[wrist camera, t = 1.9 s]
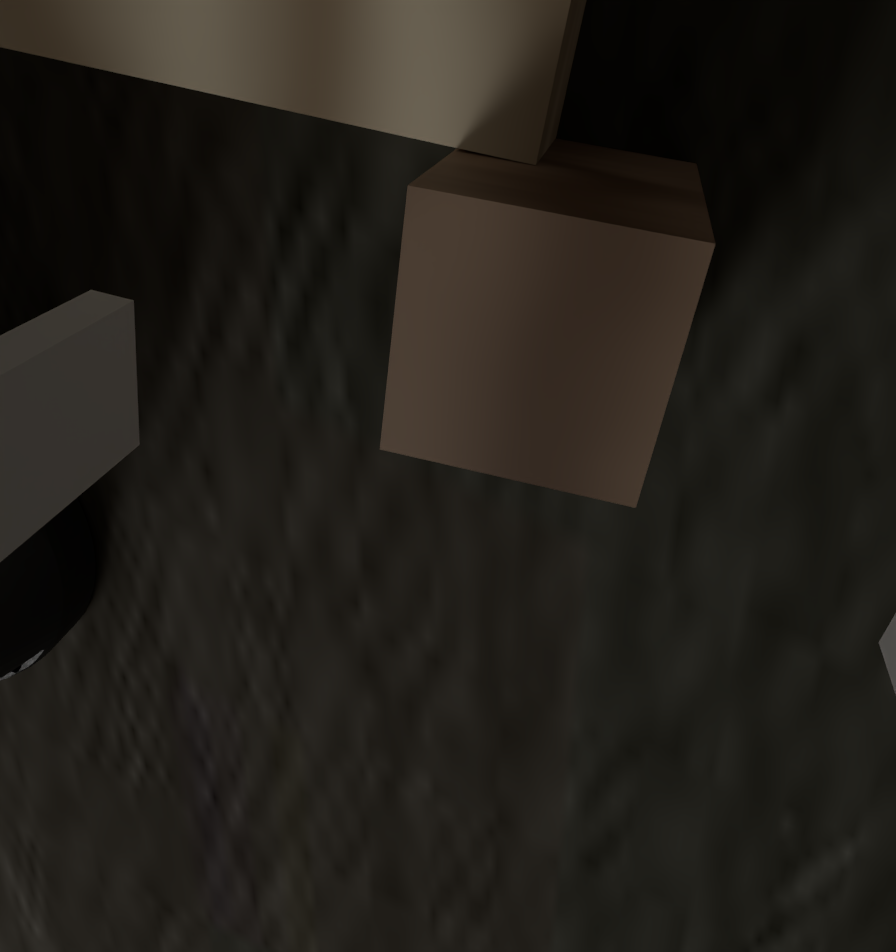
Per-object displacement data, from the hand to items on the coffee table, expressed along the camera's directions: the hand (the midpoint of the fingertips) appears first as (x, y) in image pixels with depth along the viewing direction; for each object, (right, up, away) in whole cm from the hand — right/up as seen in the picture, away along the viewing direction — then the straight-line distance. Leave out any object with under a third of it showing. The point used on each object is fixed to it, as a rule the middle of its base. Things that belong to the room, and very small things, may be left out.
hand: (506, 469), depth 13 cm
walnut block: (+3, +7, +12) cm, 14 cm away
